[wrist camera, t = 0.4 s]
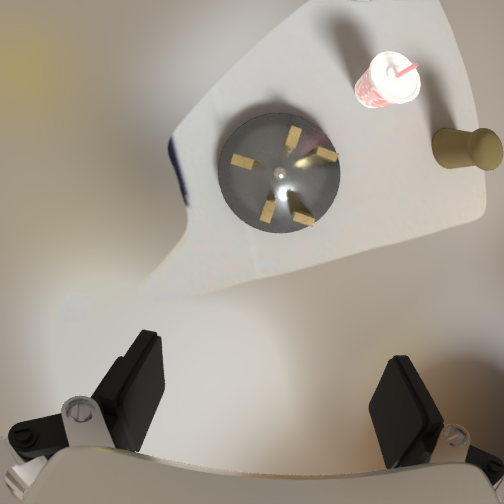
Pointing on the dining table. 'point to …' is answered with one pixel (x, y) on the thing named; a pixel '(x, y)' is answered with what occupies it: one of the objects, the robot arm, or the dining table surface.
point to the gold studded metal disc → (279, 173)
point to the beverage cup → (388, 81)
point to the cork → (467, 148)
